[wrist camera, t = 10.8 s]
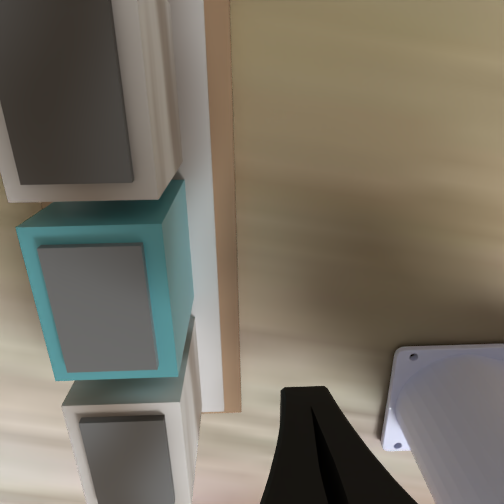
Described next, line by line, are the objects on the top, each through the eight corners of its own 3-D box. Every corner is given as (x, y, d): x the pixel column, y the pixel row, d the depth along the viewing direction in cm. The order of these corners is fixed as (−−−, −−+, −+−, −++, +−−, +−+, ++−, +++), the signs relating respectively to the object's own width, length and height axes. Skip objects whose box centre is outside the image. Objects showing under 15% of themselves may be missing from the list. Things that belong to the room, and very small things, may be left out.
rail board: (229, -21, 16) (222, -94, 9) (241, 402, 25) (242, 526, 18) (0, -19, 16) (-179, -93, 9) (94, 407, 25) (38, 534, 18)
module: (184, 179, 18) (159, 227, 12) (194, 296, 20) (177, 382, 15) (83, 181, 18) (10, 230, 12) (104, 299, 20) (52, 386, 15)
